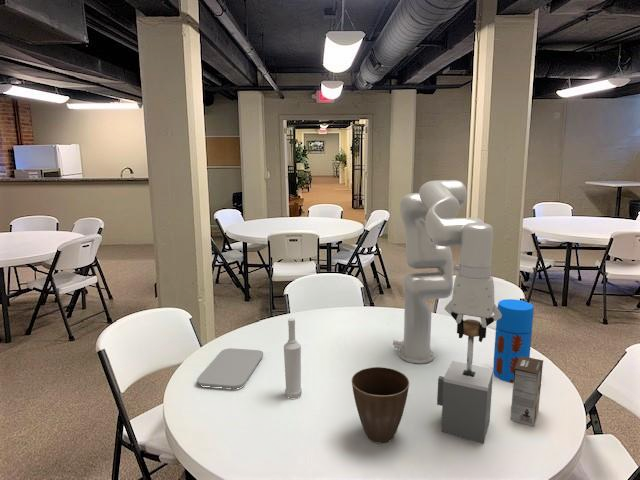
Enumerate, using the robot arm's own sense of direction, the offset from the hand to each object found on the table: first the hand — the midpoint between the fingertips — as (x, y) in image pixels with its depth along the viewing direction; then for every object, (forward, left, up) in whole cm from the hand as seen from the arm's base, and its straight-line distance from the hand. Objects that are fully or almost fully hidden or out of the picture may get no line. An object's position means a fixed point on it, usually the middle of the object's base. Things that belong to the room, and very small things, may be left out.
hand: (471, 337), depth 120 cm
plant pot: (-20, -14, -27) cm, 36 cm away
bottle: (-51, -7, -27) cm, 58 cm away
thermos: (+8, +36, -27) cm, 45 cm away
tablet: (-78, -3, -27) cm, 83 cm away
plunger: (0, 0, -15) cm, 15 cm away
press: (-1, 0, -26) cm, 26 cm away
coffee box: (+14, +13, -27) cm, 33 cm away
